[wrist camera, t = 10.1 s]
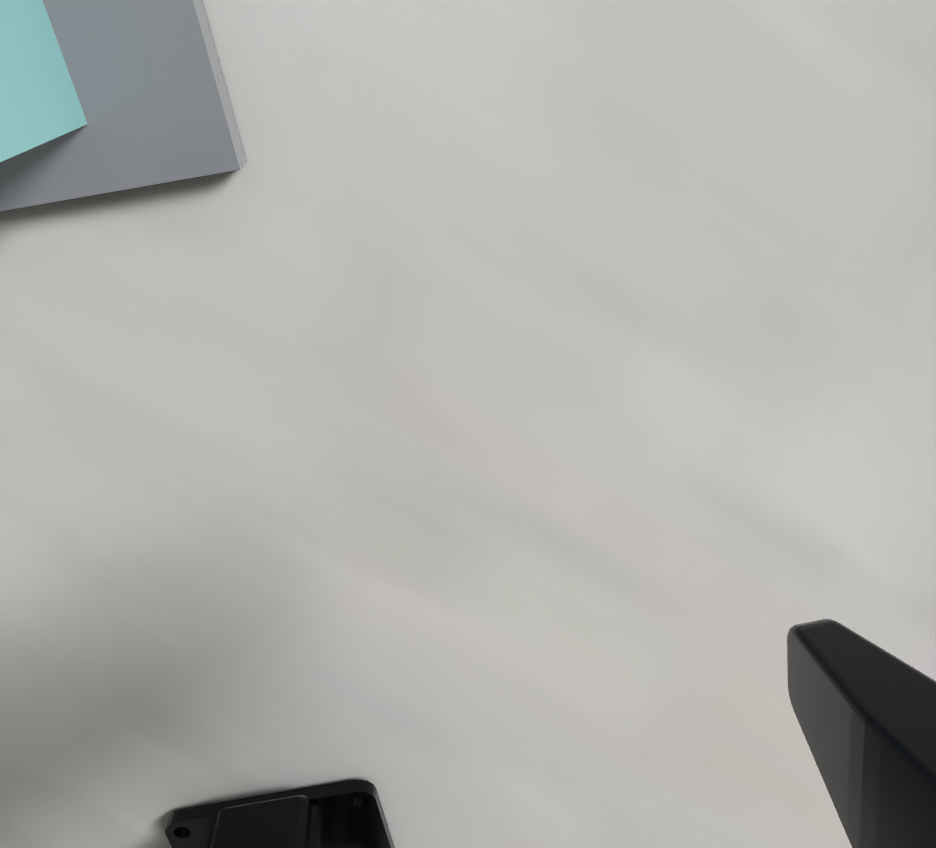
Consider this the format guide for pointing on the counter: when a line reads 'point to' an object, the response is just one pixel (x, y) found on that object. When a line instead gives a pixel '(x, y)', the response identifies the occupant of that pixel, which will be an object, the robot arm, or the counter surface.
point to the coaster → (131, 103)
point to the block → (33, 80)
